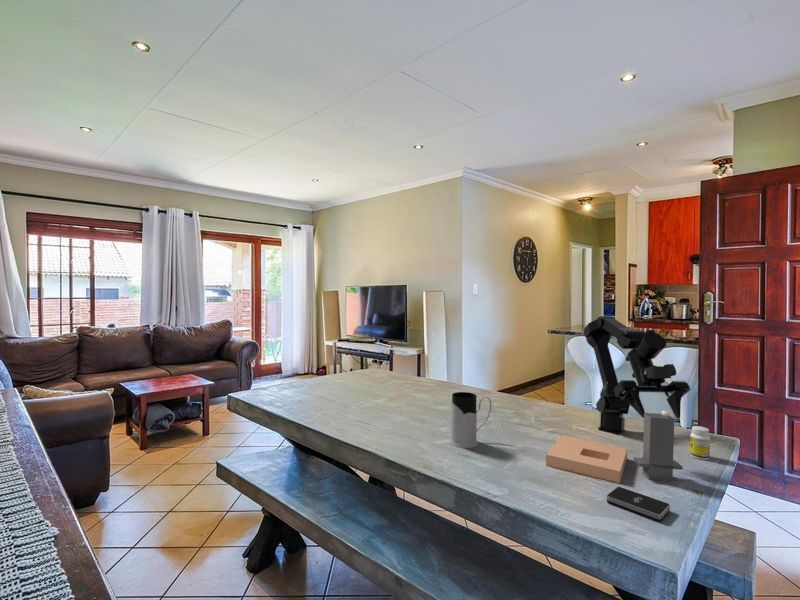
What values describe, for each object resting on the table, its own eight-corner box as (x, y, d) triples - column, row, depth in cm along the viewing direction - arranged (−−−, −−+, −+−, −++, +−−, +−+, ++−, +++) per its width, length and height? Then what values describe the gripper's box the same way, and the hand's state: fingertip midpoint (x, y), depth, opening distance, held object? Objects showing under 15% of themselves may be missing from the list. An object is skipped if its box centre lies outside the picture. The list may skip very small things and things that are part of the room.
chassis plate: (561, 444, 129) (561, 435, 129) (627, 458, 119) (627, 448, 119) (545, 465, 114) (546, 454, 114) (619, 483, 104) (620, 471, 104)
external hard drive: (617, 494, 99) (618, 485, 99) (671, 513, 91) (671, 504, 91) (605, 504, 95) (605, 495, 95) (660, 525, 86) (661, 516, 86)
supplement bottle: (690, 452, 124) (691, 424, 124) (710, 456, 121) (711, 427, 121) (688, 457, 120) (689, 428, 120) (709, 461, 117) (710, 432, 117)
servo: (639, 478, 107) (641, 412, 106) (633, 471, 111) (635, 407, 110) (682, 482, 105) (684, 414, 104) (674, 475, 109) (676, 410, 108)
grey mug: (444, 439, 133) (445, 392, 132) (483, 434, 138) (483, 389, 137) (458, 449, 124) (458, 399, 124) (498, 443, 130) (499, 395, 129)
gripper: (621, 352, 118) (639, 404, 108) (689, 353, 117) (713, 406, 107) (607, 371, 126) (622, 421, 117) (670, 372, 126) (690, 422, 116)
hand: (661, 417), depth 114 cm, fingers open, 9 cm apart
